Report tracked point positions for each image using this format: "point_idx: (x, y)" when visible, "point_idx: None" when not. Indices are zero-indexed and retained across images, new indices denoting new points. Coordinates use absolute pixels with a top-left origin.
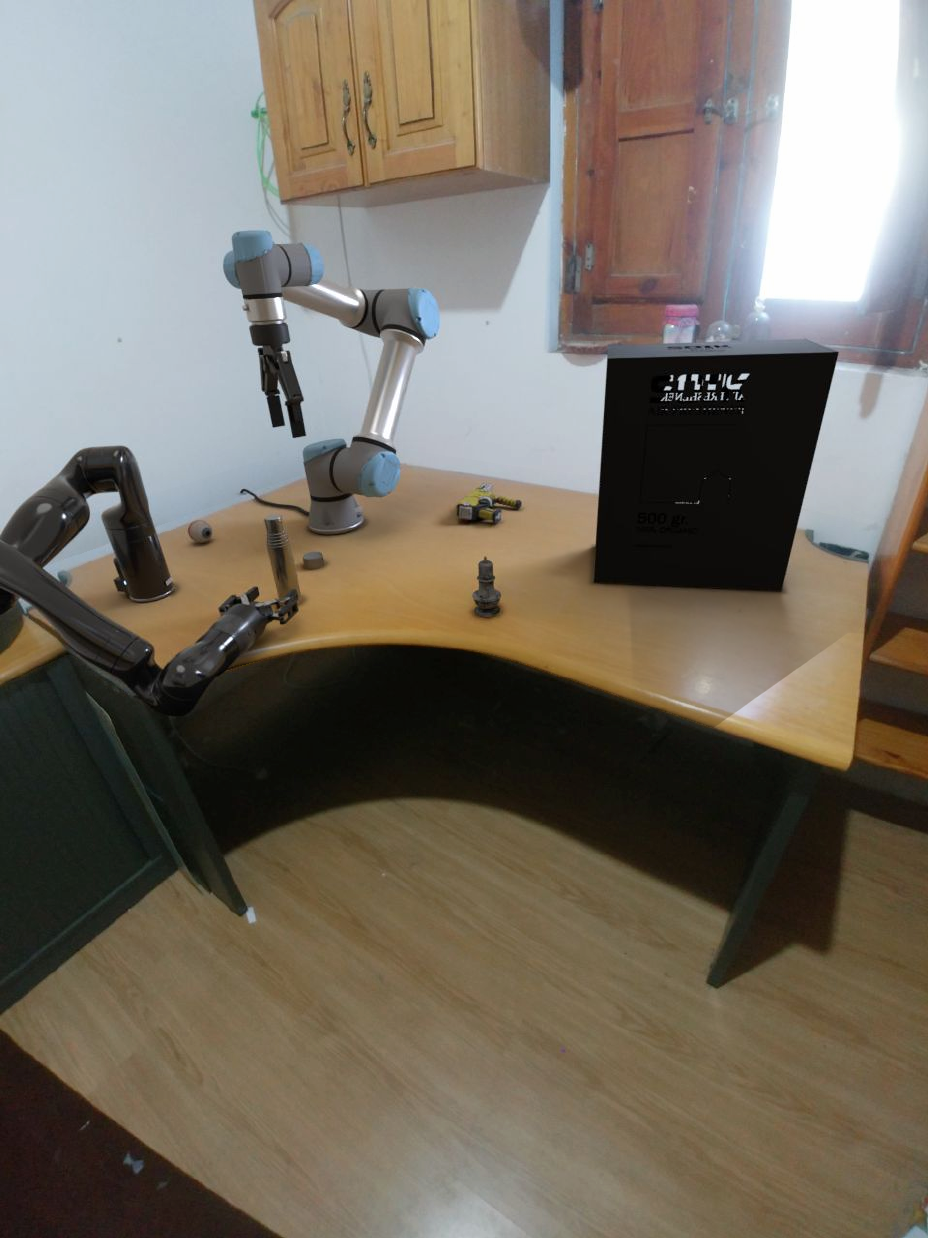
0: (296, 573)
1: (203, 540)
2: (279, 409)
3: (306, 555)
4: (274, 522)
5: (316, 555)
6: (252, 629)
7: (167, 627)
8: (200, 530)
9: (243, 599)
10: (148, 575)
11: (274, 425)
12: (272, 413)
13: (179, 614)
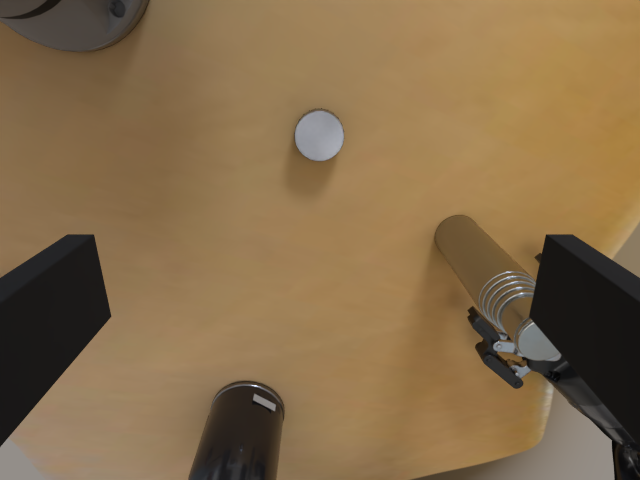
0: (489, 238)
1: None
2: (17, 322)
3: (309, 149)
4: None
5: (326, 128)
6: None
7: (393, 409)
8: None
9: None
10: (279, 447)
11: (104, 315)
12: (50, 369)
13: (361, 390)
